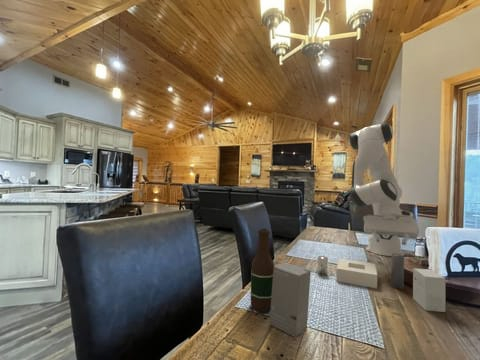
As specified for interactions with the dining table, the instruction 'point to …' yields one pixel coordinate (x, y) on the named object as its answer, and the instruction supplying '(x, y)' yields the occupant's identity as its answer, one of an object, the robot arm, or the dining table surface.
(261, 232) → the beer bottle
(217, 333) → the dining table surface
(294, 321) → the skincare box
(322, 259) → the short pin
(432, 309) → the small box
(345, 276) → the socket block
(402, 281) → the dark gray tall block
